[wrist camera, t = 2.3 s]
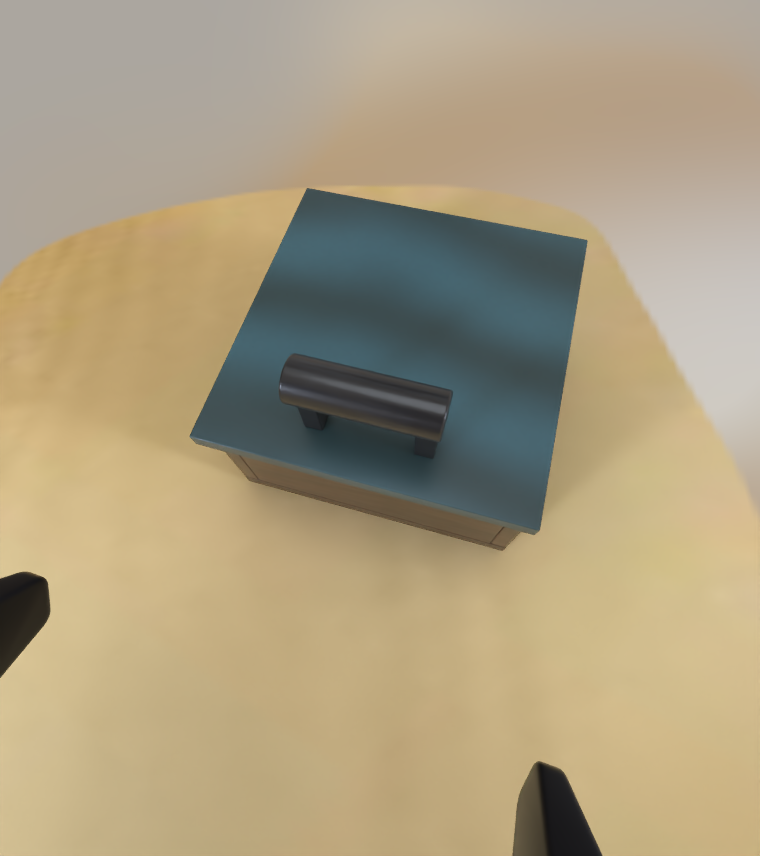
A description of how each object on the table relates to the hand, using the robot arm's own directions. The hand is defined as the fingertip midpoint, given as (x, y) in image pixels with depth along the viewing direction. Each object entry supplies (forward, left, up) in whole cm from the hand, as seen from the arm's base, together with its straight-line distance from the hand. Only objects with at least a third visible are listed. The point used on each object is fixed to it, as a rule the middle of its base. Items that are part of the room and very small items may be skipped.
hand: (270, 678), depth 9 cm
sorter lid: (+7, +10, -7) cm, 14 cm away
